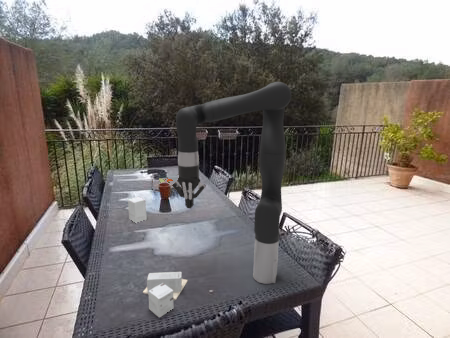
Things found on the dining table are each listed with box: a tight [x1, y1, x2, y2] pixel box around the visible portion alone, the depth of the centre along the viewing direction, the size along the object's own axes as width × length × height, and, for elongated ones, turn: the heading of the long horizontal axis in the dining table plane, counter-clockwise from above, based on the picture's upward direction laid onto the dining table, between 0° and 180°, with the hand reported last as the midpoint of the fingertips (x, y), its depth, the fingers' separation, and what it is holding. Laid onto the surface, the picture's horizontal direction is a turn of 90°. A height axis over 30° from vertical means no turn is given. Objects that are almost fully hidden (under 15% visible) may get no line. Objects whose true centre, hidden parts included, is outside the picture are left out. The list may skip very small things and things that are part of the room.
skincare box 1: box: [146, 271, 183, 293], centre depth 105 cm, size 6×4×12 cm
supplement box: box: [127, 196, 148, 224], centre depth 163 cm, size 7×7×13 cm
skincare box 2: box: [147, 283, 174, 318], centre depth 96 cm, size 6×6×7 cm
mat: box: [142, 278, 189, 301], centre depth 108 cm, size 13×11×1 cm
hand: (189, 207), depth 108 cm, fingers closed
